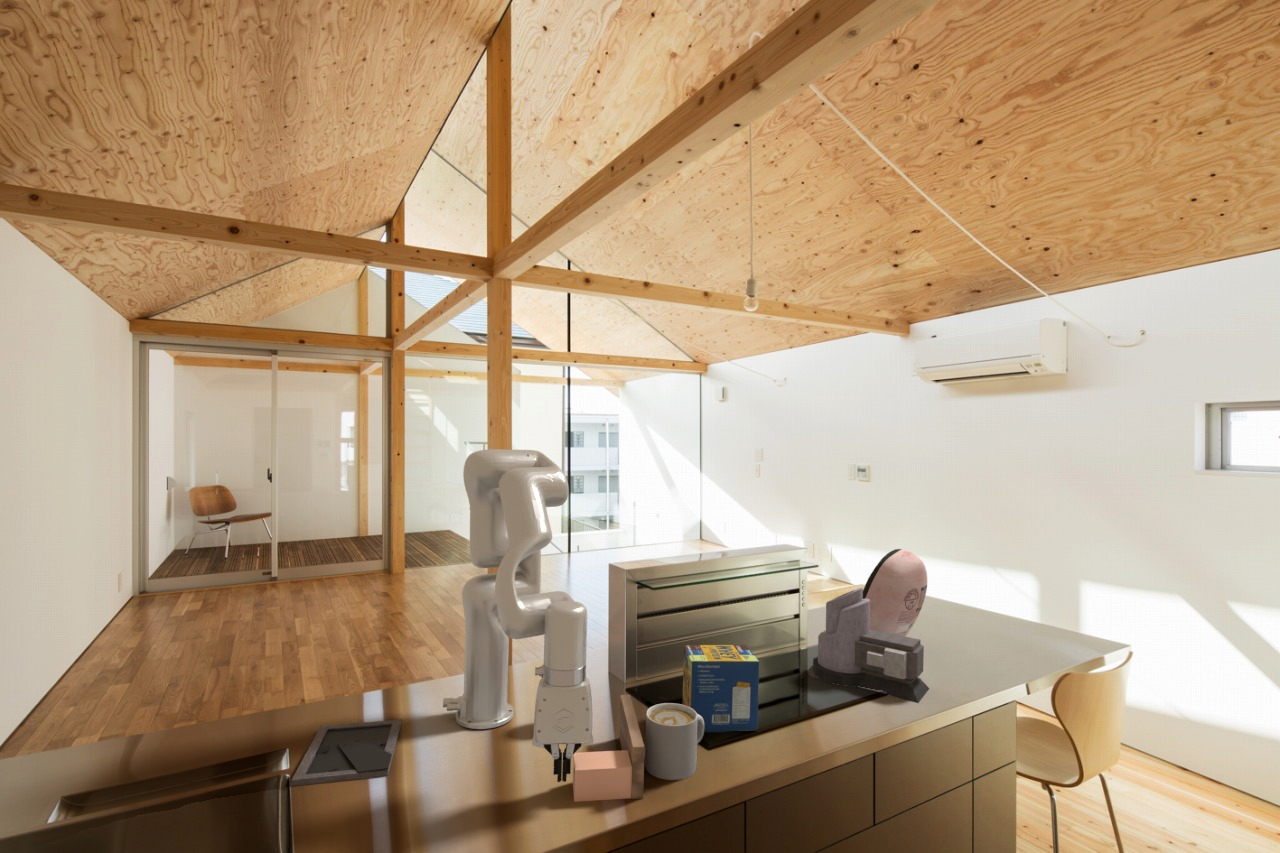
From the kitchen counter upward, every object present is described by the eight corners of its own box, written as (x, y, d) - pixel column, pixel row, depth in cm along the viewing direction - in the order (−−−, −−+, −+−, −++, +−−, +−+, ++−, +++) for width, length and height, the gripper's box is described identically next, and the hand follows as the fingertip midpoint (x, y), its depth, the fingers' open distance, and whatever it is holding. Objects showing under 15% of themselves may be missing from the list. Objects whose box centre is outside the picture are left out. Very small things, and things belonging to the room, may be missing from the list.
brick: (574, 802, 107) (575, 770, 108) (572, 783, 113) (573, 752, 113) (631, 798, 109) (632, 767, 109) (626, 780, 115) (627, 750, 115)
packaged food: (879, 627, 213) (881, 540, 214) (937, 642, 199) (938, 548, 199) (844, 639, 199) (846, 546, 200) (903, 657, 184) (905, 556, 185)
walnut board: (631, 798, 109) (633, 747, 109) (619, 738, 130) (620, 694, 131) (643, 798, 109) (644, 746, 109) (628, 737, 131) (630, 694, 131)
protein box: (681, 711, 144) (683, 644, 144) (746, 711, 145) (748, 644, 145) (688, 733, 133) (690, 660, 134) (758, 732, 135) (760, 660, 135)
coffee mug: (661, 785, 113) (662, 730, 113) (635, 759, 122) (637, 708, 122) (721, 768, 119) (722, 716, 120) (692, 745, 128) (694, 696, 128)
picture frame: (387, 778, 114) (401, 726, 134) (388, 767, 114) (402, 717, 134) (291, 789, 110) (320, 733, 130) (291, 777, 110) (320, 723, 130)
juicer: (798, 675, 168) (800, 584, 169) (820, 659, 181) (822, 575, 182) (916, 706, 150) (917, 605, 151) (931, 686, 163) (933, 592, 163)
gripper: (520, 682, 106) (517, 791, 105) (608, 680, 107) (605, 787, 107) (523, 666, 113) (520, 768, 113) (605, 664, 115) (602, 765, 115)
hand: (561, 777), depth 110 cm, fingers closed
